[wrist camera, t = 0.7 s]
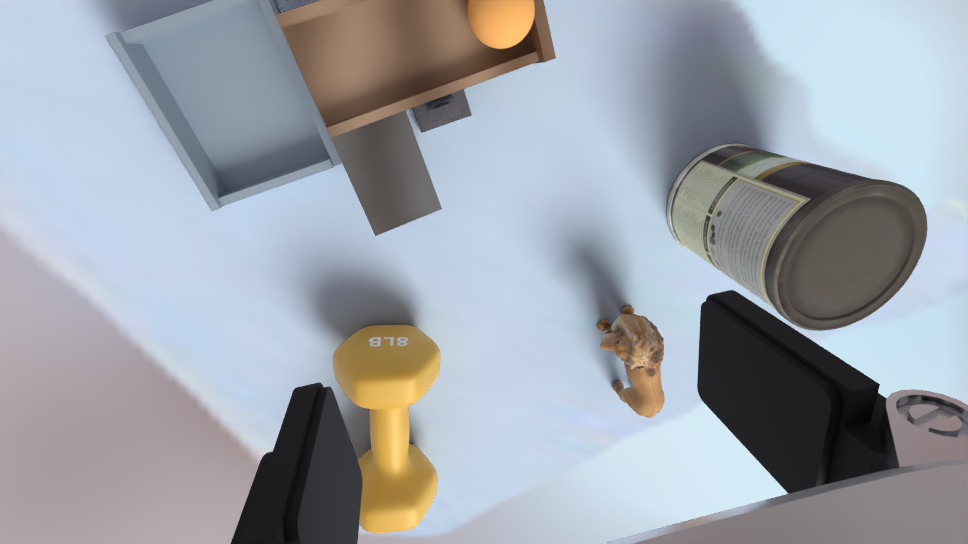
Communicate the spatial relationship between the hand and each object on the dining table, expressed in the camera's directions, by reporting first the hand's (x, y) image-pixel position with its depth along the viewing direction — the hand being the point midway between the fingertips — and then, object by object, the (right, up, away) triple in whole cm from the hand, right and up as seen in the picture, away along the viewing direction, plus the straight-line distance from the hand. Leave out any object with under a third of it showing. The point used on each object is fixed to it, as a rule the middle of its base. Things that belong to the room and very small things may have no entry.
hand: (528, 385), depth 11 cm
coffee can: (+20, +9, +31) cm, 38 cm away
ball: (0, +18, +16) cm, 25 cm away
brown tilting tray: (-5, +15, +21) cm, 26 cm away
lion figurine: (+12, -4, +36) cm, 38 cm away
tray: (-18, +15, +22) cm, 32 cm away
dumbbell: (-10, -10, +35) cm, 38 cm away
